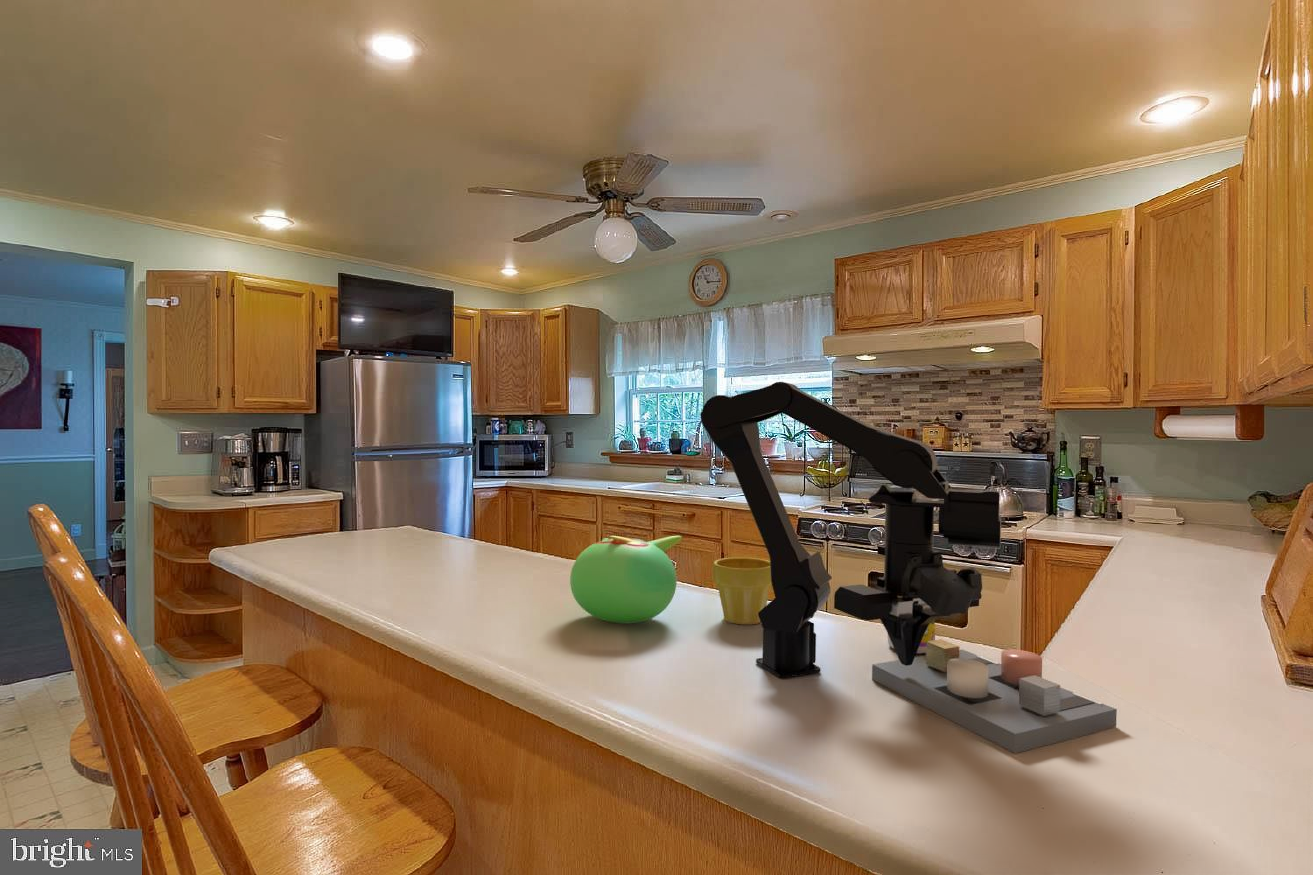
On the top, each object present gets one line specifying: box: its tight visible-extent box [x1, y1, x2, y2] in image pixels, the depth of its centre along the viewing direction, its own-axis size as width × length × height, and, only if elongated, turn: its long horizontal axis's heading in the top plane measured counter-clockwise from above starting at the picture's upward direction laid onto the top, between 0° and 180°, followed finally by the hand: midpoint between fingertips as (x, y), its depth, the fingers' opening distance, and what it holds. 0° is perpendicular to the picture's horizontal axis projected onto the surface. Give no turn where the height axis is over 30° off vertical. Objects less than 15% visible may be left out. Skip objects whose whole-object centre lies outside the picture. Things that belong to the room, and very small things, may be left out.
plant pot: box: [713, 556, 772, 626], centre depth 113 cm, size 10×10×10 cm
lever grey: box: [1018, 675, 1061, 716], centre depth 73 cm, size 2×3×3 cm
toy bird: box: [569, 535, 683, 624], centre depth 112 cm, size 18×17×15 cm
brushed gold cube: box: [925, 638, 960, 672], centre depth 85 cm, size 2×3×3 cm
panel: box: [871, 649, 1118, 754], centre depth 80 cm, size 16×21×2 cm
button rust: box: [1000, 648, 1043, 685], centre depth 81 cm, size 4×4×3 cm
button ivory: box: [947, 658, 989, 698], centre depth 78 cm, size 4×4×3 cm
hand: (906, 664), depth 83 cm, fingers closed
